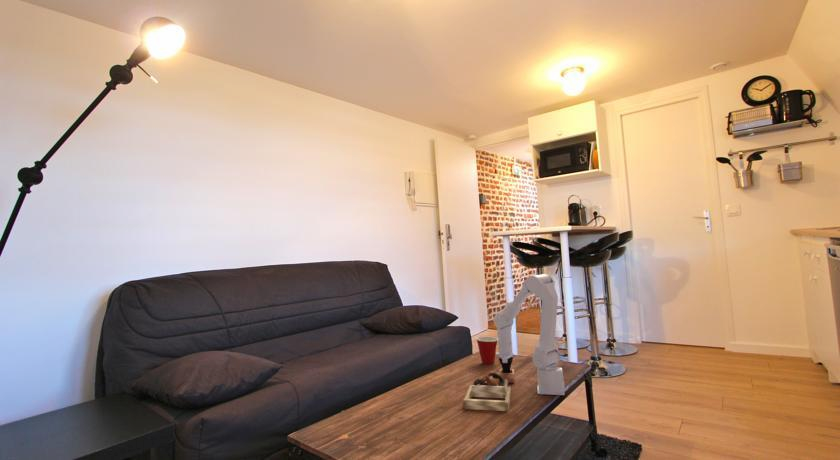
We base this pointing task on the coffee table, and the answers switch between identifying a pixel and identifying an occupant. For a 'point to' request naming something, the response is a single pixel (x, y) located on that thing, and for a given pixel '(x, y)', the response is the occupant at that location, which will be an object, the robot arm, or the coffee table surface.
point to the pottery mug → (489, 380)
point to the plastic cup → (487, 349)
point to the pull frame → (494, 387)
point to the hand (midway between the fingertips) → (507, 375)
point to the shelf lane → (486, 402)
